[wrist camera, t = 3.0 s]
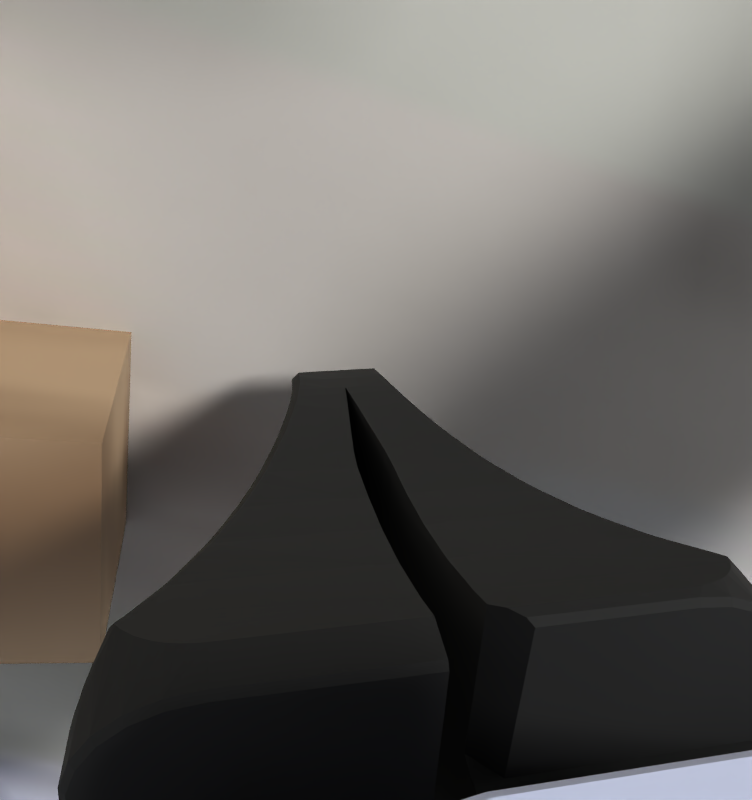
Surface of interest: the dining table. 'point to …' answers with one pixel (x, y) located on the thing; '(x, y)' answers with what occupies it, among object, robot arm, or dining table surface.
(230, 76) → the dining table surface
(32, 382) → the tan block
